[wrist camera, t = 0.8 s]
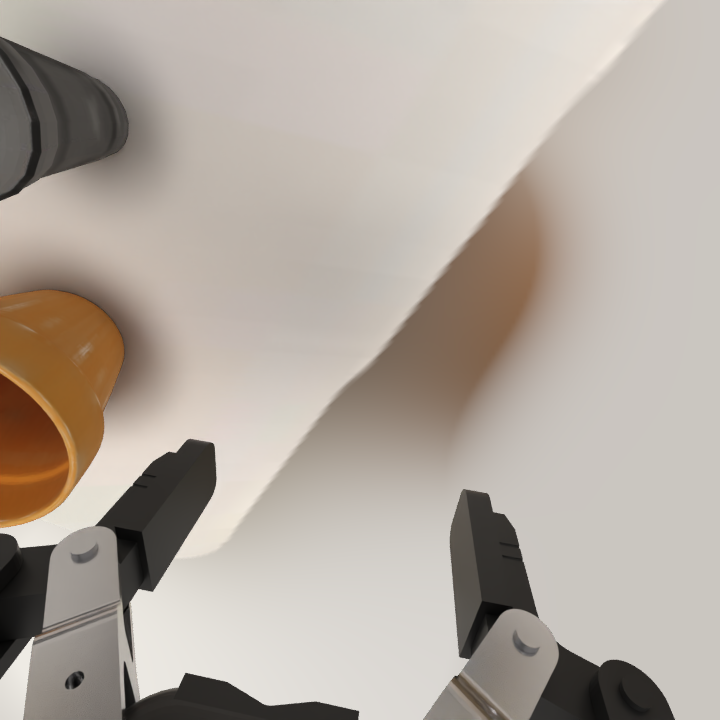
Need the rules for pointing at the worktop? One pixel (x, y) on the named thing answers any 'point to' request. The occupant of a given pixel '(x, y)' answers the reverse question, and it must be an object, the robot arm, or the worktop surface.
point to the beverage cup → (51, 118)
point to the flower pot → (51, 397)
